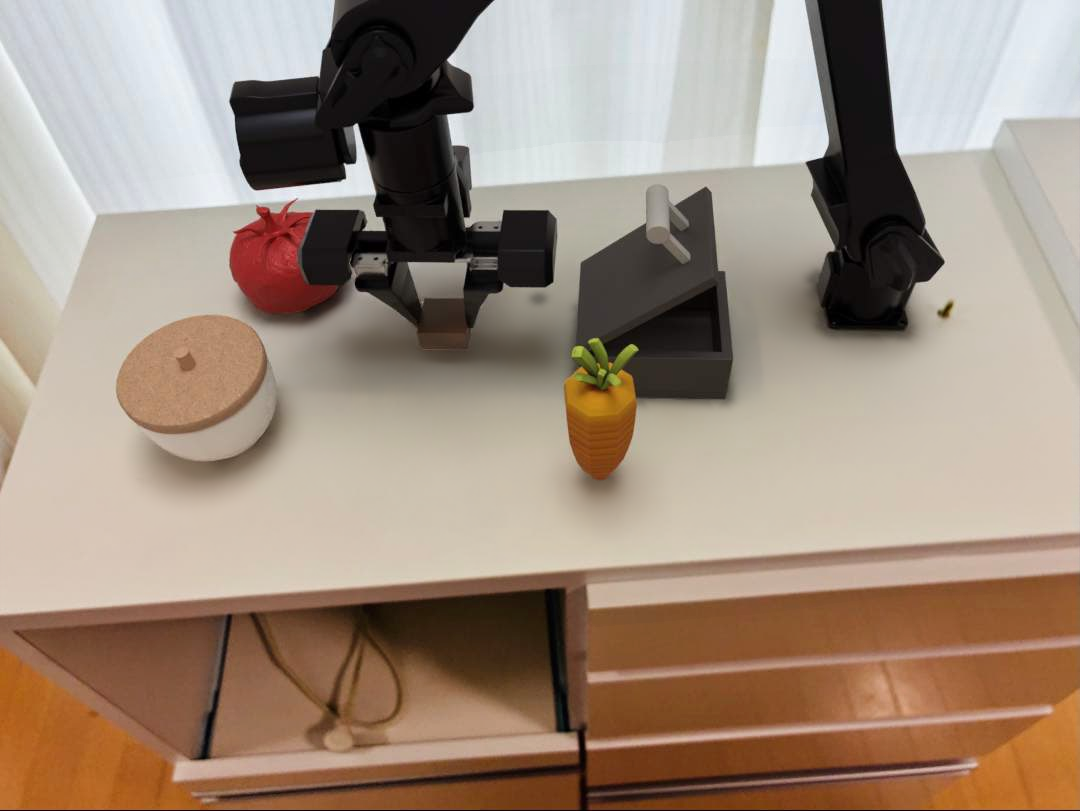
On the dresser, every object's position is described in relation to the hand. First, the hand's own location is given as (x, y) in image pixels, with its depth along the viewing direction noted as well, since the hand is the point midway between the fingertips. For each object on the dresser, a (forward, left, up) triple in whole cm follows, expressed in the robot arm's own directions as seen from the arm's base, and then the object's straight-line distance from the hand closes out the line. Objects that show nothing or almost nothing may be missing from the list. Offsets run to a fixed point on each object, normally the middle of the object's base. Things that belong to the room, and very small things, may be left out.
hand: (446, 323), depth 68 cm
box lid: (-16, 0, +6) cm, 17 cm away
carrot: (-13, +13, -3) cm, 18 cm away
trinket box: (+17, +9, -3) cm, 20 cm away
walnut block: (0, 0, -1) cm, 1 cm away
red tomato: (+15, -7, -3) cm, 17 cm away
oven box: (-17, 0, -3) cm, 17 cm away
